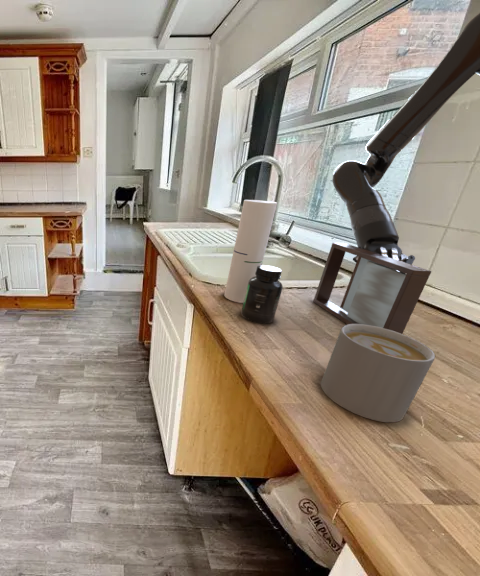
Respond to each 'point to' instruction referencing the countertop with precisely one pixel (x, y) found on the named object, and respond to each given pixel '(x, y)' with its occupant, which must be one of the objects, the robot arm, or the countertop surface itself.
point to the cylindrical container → (249, 246)
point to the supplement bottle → (262, 295)
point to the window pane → (354, 283)
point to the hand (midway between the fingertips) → (395, 292)
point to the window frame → (374, 289)
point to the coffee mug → (375, 371)
